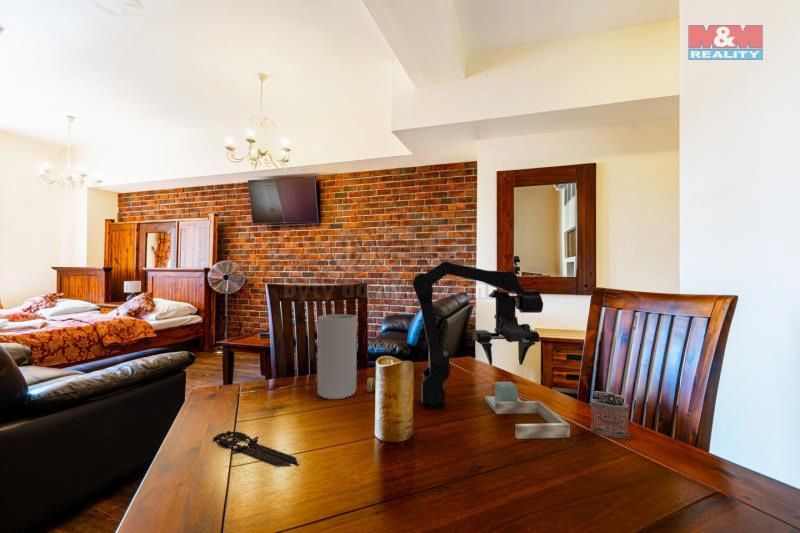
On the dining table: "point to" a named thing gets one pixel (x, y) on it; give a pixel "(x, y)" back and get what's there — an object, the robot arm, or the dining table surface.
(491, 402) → the ceramic tile
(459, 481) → the dining table surface
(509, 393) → the cube
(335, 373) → the cylinder vase
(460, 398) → the dining table surface
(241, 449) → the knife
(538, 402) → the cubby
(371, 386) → the gavel
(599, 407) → the lighter
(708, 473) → the dining table surface
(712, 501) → the dining table surface
